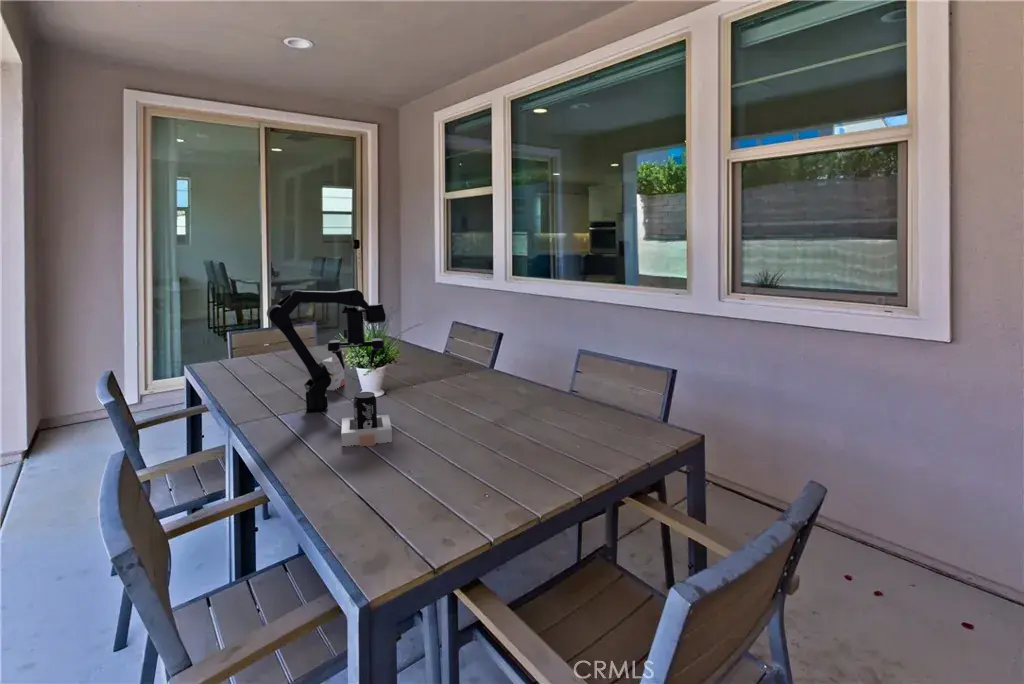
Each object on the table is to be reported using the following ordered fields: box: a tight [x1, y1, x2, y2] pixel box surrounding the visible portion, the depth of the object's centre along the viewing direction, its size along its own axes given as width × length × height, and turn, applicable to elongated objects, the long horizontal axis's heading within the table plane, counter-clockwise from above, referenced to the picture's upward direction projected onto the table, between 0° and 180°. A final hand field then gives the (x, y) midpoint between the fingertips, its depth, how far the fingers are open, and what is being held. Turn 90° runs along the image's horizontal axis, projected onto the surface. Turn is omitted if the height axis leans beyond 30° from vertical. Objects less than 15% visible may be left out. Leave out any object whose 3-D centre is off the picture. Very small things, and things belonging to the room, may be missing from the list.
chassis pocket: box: [340, 414, 393, 448], centre depth 165 cm, size 14×16×4 cm
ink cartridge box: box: [321, 352, 346, 391], centre depth 217 cm, size 9×5×15 cm, turn 168°
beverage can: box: [352, 391, 378, 430], centre depth 164 cm, size 7×7×12 cm
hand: (357, 368), depth 195 cm, fingers open, 9 cm apart
